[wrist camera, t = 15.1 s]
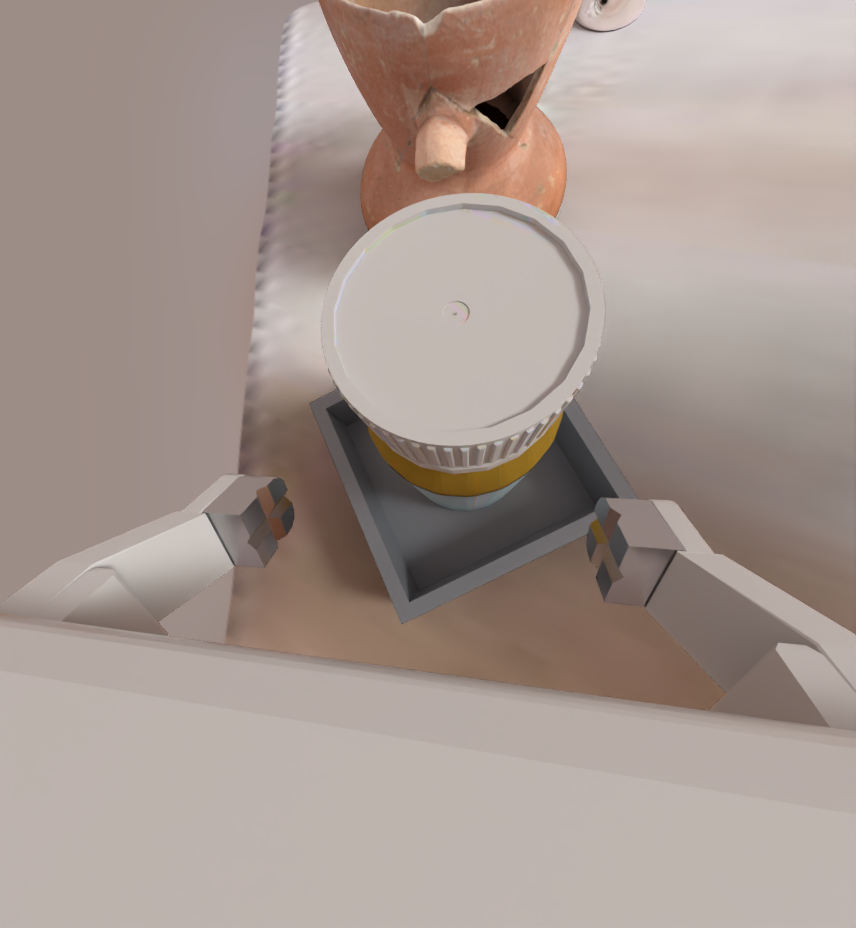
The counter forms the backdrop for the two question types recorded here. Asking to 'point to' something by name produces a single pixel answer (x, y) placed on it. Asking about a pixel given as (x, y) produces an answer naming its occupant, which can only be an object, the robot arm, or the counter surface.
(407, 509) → the box
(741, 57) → the counter surface
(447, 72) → the ceramic jug
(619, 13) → the beer glass
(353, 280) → the bottle
